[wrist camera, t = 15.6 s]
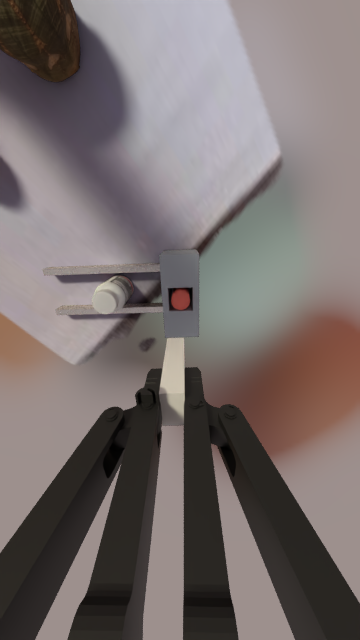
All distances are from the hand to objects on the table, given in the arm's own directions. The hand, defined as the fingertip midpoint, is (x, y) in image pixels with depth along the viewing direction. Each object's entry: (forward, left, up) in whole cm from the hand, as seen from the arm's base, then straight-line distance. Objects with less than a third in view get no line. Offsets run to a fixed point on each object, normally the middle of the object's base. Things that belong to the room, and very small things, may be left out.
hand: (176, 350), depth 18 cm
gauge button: (0, 0, -20) cm, 20 cm away
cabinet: (0, 0, -24) cm, 24 cm away
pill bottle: (-12, 0, -25) cm, 28 cm away
